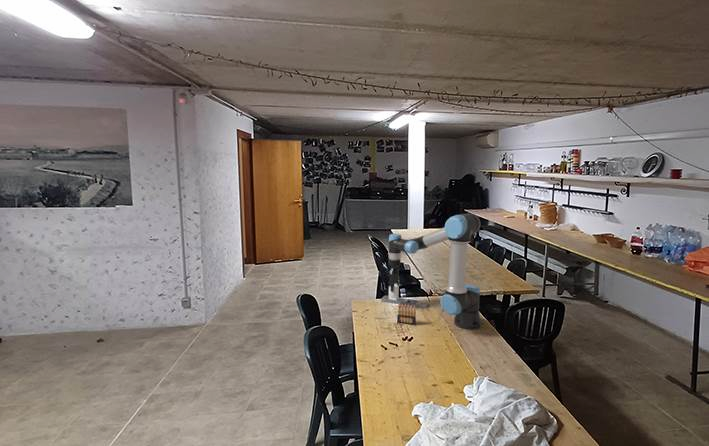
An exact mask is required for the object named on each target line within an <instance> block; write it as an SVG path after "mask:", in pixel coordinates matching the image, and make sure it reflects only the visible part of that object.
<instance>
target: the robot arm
mask: <svg viewBox="0 0 709 446" xmlns="http://www.w3.org/2000/svg"><path fill="white" fill-rule="evenodd" d="M480 228H481V221H480V218H479V217H478V216H477V215H476V214H475V213H469V212H467V213H462V214H456V215H453V216H450V217H449V218H448V219H447V220H446V222H445V224H444V227H441V228H440V229H437V230H434V231H431V232H429V233H427V234H424V235H422V236H419V237H414V238H411V239H404V238H402V234H399V233H392V234H391V233H390V234H389V236H388V253H387V255H388V266H390V269H389V272H388V275H389V276H388V279H389V281H388V287H389V286H390V296H393V297H394V296H395V286H394V285H396V286H398V284H400V281H399V280H400V278H399V277H400V266H401V264H402V263H401V261H402V260H401V258H402V252H403V253H407V254H411V255H412V254H416V253H417V252H418V251H419V250H425V249H427V248H429V247H432V246H435V245H437V244H440V243H443V242H446V241H448V242H450V248H449V249H450V250H449V251H450V253H449V268H448V284H447V285H446V286H445V288H444V294H443V295H442V296H441V297H440V306H441V309H442V311H443V310H444V311H443V312H444V313H446V314H447V315H449V316H454V318H453V323H454V325H455V326H456V327H458V328H461V329H466V330H477V329H480V328H481V327H482V319H481V316H480V310H479V309H480V296H481V293H480V287H479V286H477V285H474V284H468V283H466V273H467V272H466V269H467V256H468V244H469V243H471V242H472V235H474V234H476V233H477V232H479V230H480Z"/></svg>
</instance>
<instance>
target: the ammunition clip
mask: <svg viewBox="0 0 709 446" xmlns="http://www.w3.org/2000/svg"><path fill="white" fill-rule="evenodd" d="M397 305H398V307H397V319H396V320H397V321H396V323H397V324H401V325H402V324H403V325H408V326H416V325H417V317H416V316H417V314H416V307H415V305H414V306H412V304H411V306H409V304H408V306H407V305H406V304H405V305H403V303H402V305H400V303H399V304H397Z"/></svg>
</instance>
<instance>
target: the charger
mask: <svg viewBox="0 0 709 446" xmlns="http://www.w3.org/2000/svg"><path fill="white" fill-rule="evenodd" d="M394 286H395V296H394V297H393V296H390V286H389V285H388V296H389V299H391V300H397V299H398V298H400V297H399V295H400V293H399V286H400V285H397V286H396V285H394Z"/></svg>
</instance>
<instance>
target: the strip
mask: <svg viewBox="0 0 709 446" xmlns="http://www.w3.org/2000/svg"><path fill="white" fill-rule="evenodd" d="M380 301H381V303H389V304H393V305H394V304H395V305H399V303H400V306H401V305H402V303H403V306H405V304H406V307H407V306H408V304H409V307H411V304H412V307H414V305H415V308H421V309H427V308H428V306H429V303H430V302H429V301H425V300H416V299H410V298H405V297H398V299H397V300H391V299H389V295H383V297H382V298H381V299H380ZM442 311H443V312H445V311H444V310H443V309H442Z"/></svg>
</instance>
